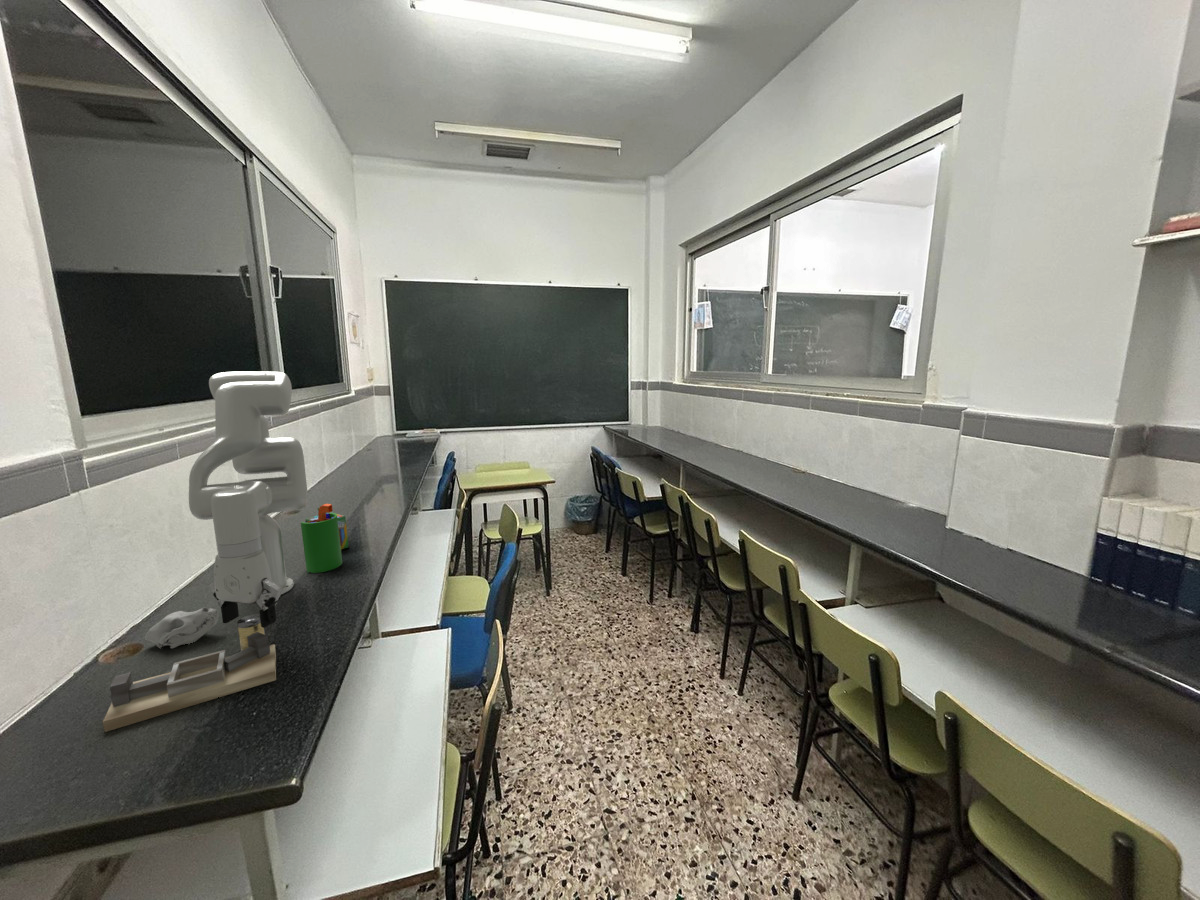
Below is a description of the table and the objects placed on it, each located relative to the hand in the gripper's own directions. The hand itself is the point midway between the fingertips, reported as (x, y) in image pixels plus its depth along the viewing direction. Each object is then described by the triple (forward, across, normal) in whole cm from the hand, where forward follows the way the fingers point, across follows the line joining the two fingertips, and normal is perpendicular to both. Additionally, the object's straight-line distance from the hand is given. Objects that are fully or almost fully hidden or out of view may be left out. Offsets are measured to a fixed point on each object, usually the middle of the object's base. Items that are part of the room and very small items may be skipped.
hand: (249, 622), depth 101 cm
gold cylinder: (+6, 0, 0) cm, 7 cm away
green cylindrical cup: (+6, -17, +42) cm, 45 cm away
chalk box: (+6, -27, +54) cm, 60 cm away
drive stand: (+7, +1, -12) cm, 14 cm away
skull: (+7, -18, 0) cm, 19 cm away
